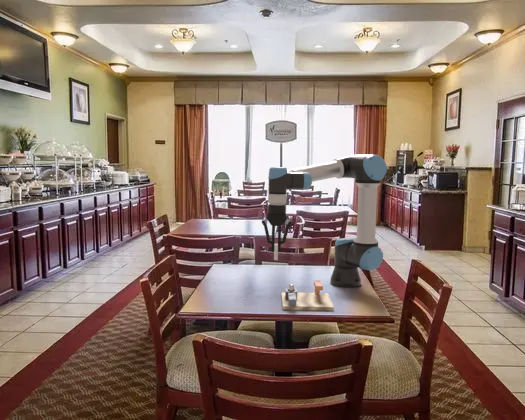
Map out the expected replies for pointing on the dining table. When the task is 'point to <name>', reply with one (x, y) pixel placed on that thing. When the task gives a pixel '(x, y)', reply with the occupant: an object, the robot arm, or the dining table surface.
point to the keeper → (318, 287)
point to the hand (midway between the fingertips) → (275, 259)
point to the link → (291, 296)
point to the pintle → (291, 287)
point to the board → (309, 302)
